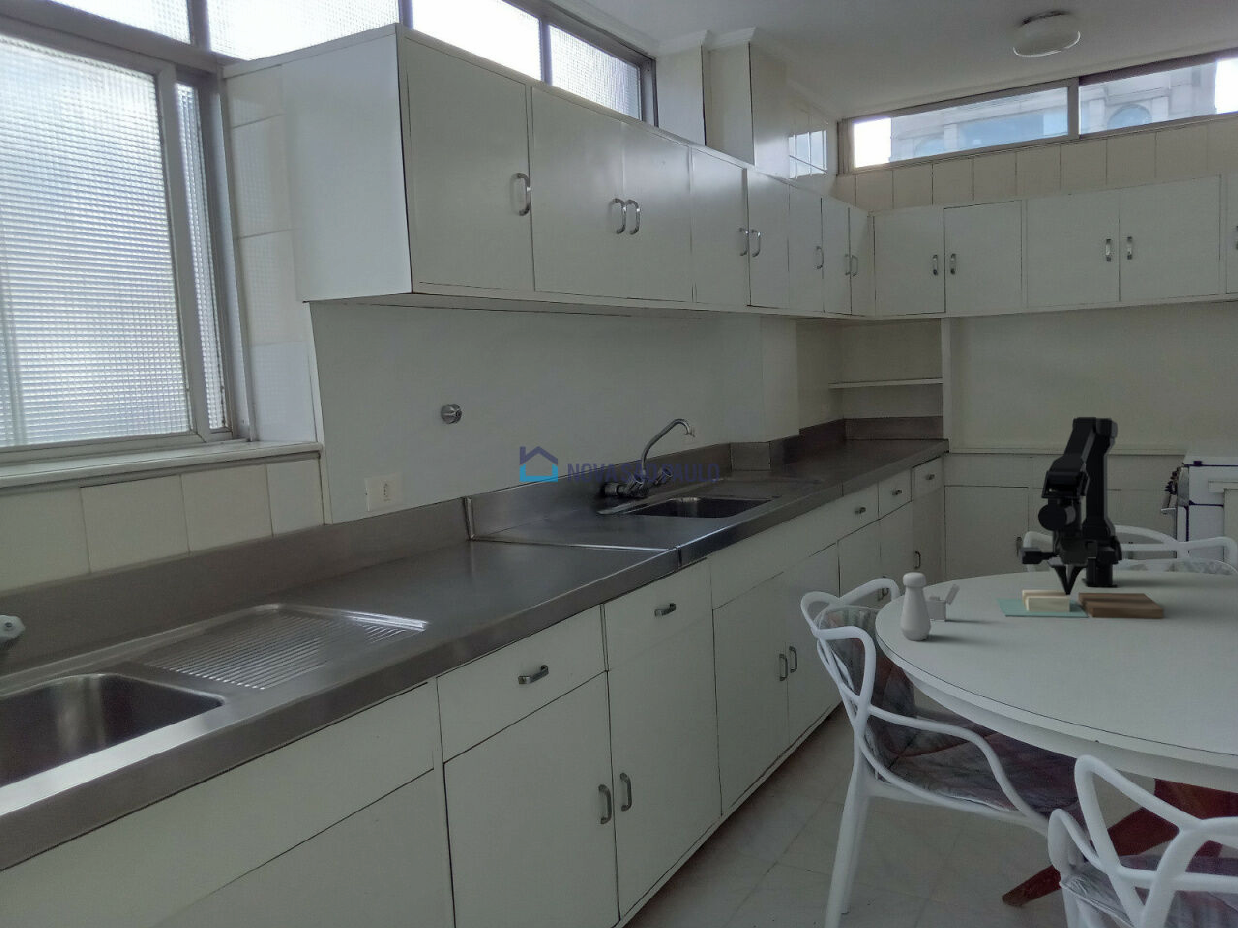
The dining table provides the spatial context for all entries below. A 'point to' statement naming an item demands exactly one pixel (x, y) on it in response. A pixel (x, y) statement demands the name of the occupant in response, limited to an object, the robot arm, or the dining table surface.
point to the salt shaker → (915, 608)
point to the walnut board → (1120, 605)
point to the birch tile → (1046, 600)
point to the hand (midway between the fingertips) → (1067, 594)
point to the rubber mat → (1018, 609)
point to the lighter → (940, 604)
